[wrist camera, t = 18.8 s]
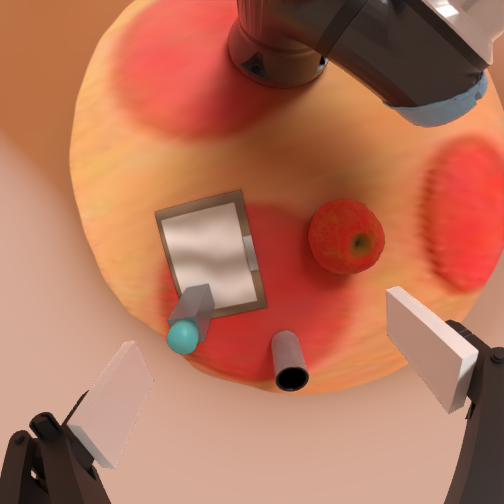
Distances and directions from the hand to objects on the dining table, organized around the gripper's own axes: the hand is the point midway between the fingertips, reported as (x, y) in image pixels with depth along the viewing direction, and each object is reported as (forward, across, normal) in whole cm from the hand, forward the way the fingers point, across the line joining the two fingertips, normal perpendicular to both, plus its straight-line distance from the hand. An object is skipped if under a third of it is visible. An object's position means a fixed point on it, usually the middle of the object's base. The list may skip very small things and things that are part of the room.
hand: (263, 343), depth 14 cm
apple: (+29, +12, -2) cm, 31 cm away
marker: (+28, -10, -7) cm, 31 cm away
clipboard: (+29, -7, -2) cm, 30 cm away
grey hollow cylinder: (+29, +1, -18) cm, 34 cm away
